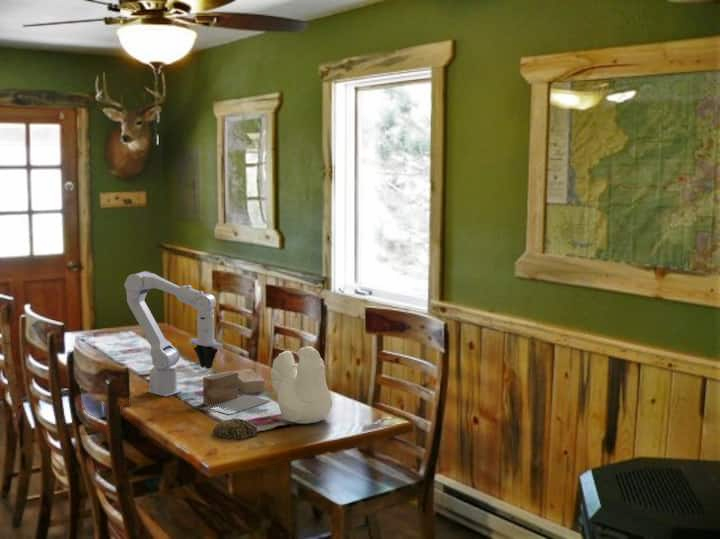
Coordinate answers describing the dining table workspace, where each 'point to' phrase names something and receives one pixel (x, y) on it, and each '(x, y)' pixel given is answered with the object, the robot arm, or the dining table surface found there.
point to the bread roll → (235, 429)
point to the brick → (250, 381)
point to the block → (220, 387)
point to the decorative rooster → (301, 386)
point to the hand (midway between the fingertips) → (206, 367)
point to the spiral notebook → (241, 403)
